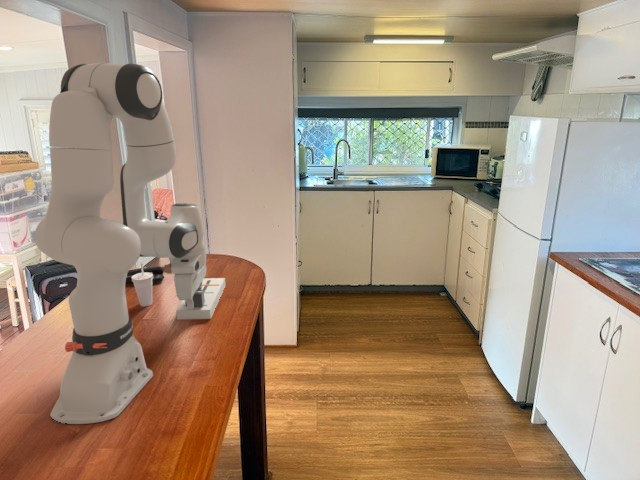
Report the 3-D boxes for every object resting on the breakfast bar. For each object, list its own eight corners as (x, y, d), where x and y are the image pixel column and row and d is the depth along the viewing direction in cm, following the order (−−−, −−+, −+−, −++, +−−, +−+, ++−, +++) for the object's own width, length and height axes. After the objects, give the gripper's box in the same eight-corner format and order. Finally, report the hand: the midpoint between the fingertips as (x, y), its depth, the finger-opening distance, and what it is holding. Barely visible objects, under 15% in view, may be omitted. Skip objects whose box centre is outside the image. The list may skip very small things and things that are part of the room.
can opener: (166, 276, 160) (165, 262, 158) (163, 284, 153) (161, 269, 151) (116, 280, 157) (114, 265, 155) (110, 287, 151) (108, 272, 149)
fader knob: (202, 306, 128) (201, 293, 127) (185, 306, 128) (184, 293, 127) (205, 301, 131) (203, 289, 130) (188, 302, 131) (186, 289, 130)
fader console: (210, 318, 128) (210, 309, 127) (177, 319, 128) (175, 310, 127) (225, 285, 151) (225, 277, 150) (197, 286, 150) (196, 278, 150)
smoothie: (160, 299, 141) (155, 259, 136) (151, 308, 134) (145, 267, 130) (141, 299, 141) (135, 259, 137) (131, 307, 135) (125, 266, 131)
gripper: (189, 246, 135) (193, 286, 139) (168, 270, 115) (174, 316, 120) (209, 245, 135) (213, 286, 139) (192, 270, 115) (197, 316, 120)
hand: (195, 300), depth 129 cm, fingers open, 8 cm apart
